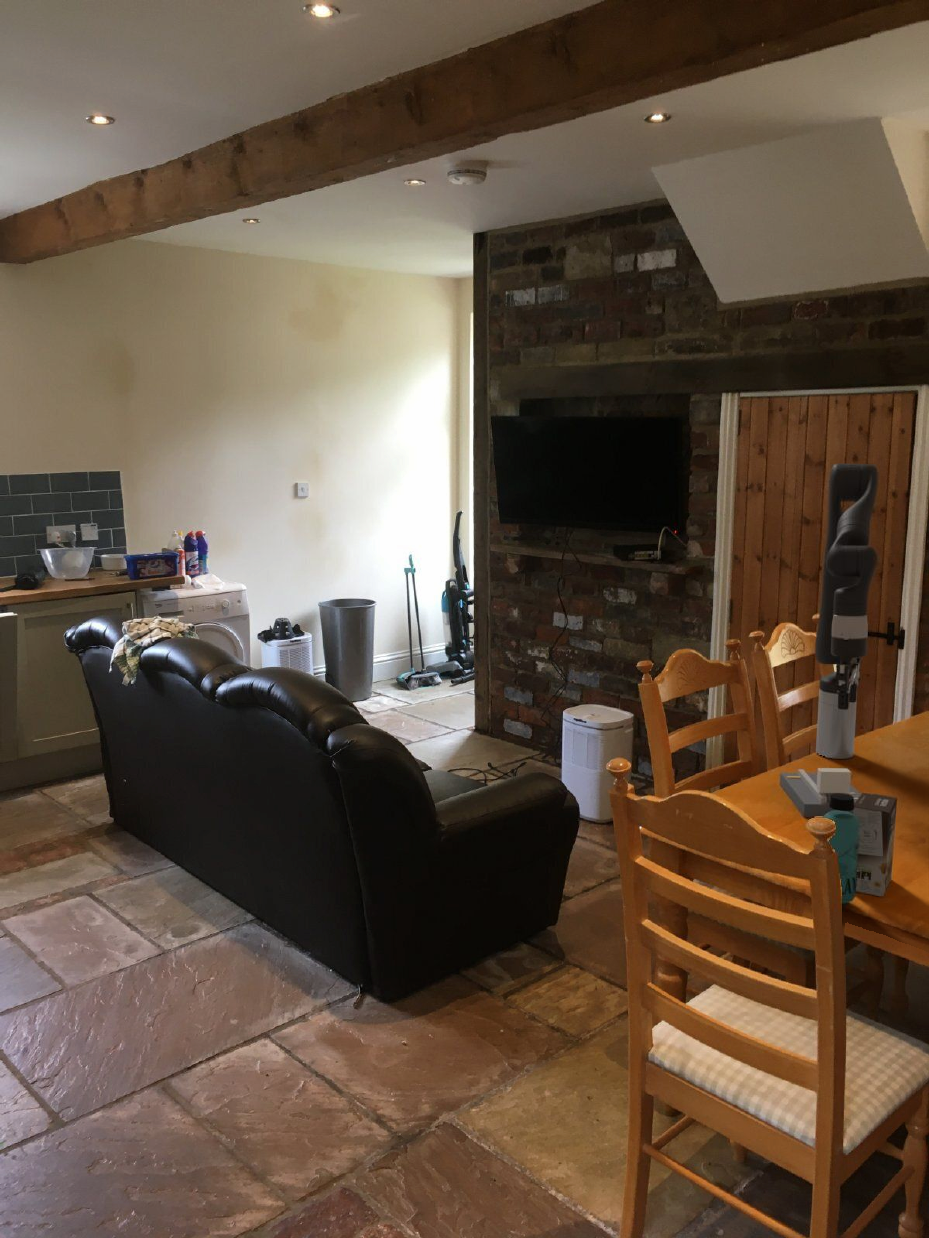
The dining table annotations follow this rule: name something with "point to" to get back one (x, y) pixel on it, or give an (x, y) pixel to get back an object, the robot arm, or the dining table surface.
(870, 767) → the dining table surface
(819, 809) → the console
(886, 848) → the coffee box
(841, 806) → the beverage bottle
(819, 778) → the fader
